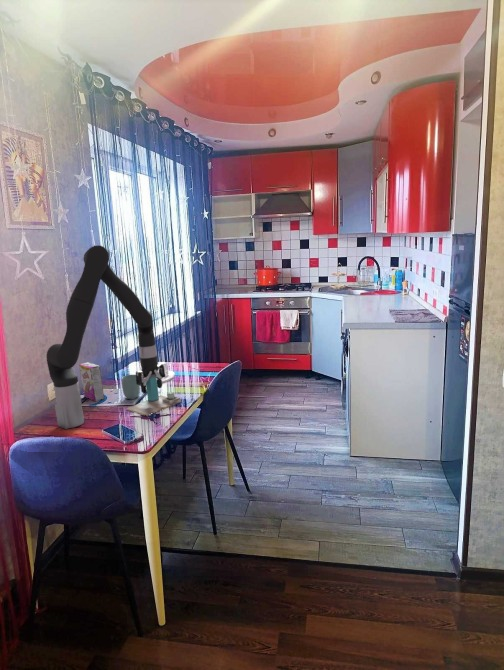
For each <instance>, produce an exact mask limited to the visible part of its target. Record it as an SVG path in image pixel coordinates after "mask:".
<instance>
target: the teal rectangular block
mask: <svg viewBox="0 0 504 670" xmlns="http://www.w3.org/2000/svg"><path fill="white" fill-rule="evenodd" d="M145 378H146V377H145ZM146 390H147V393H146V395H147V400H148V401H150V402H155V401H157V400H159V397H158V396H159V390H158V387H157V379H156V374H153V375H150V377H149V380H148V381H147V382H146Z"/></svg>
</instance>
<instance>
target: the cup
mask: <svg viewBox="0 0 504 670" xmlns="http://www.w3.org/2000/svg"><path fill="white" fill-rule="evenodd" d="M120 381H121V386H122V387H121V388H122V392H123V397H125V398H126V399H128V400H133V399H132V398H134V399H136V397H137V398H138V397H139V396H140V393H141V386H140V385H137V384H136V375H133V374H126V375H124V376H122V377H121V380H120Z"/></svg>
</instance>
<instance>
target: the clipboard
mask: <svg viewBox="0 0 504 670" xmlns="http://www.w3.org/2000/svg"><path fill="white" fill-rule="evenodd" d="M158 397H159V400H157V401H155V402H150V401H148V399H147V400H145V401H142V402H140V403H137V404H134V405H132V406H130V407H127V408H126V411H129V412H133V413H136V414H138V415H141V416H145V415H146V417H148V415H149V414H151V413H154V412H156V413H158V412H160V410H161V411H163V410H165V409H168V408H170V407H172V406H175V405H177V404H180V403H181V402H182V400H181V397H180V396H176V395H175V399H173V400H168V398H167V396H165V395H161V394H159V395H158ZM162 409H163V410H162ZM157 411H158V412H157ZM154 414H155V413H154ZM151 415H152V414H151ZM149 416H150V415H149Z"/></svg>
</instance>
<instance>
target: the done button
mask: <svg viewBox="0 0 504 670" xmlns="http://www.w3.org/2000/svg"><path fill="white" fill-rule="evenodd" d="M175 396H176V395H175V392H174V391H169V392H166V397H167V398H168V400H173V399H175Z"/></svg>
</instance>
